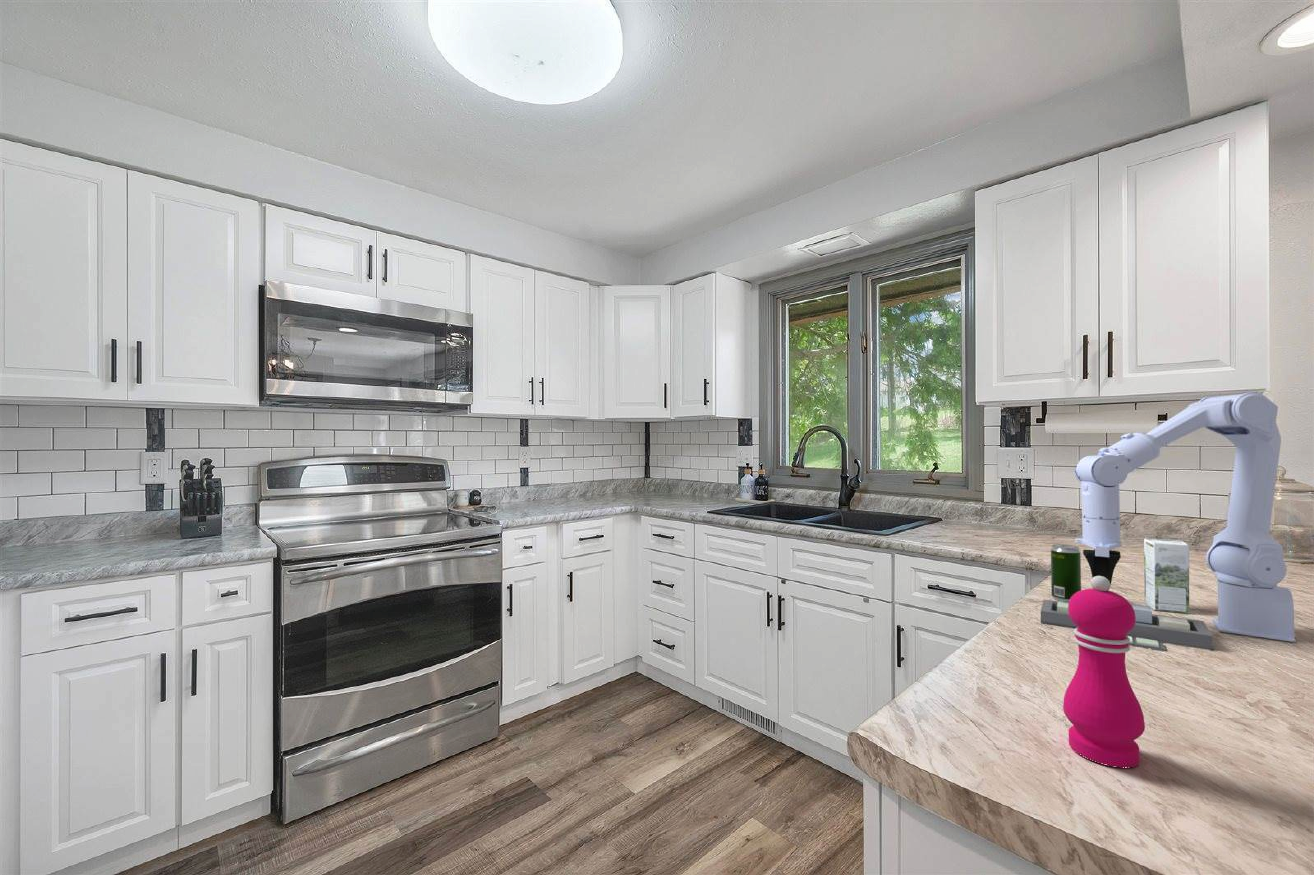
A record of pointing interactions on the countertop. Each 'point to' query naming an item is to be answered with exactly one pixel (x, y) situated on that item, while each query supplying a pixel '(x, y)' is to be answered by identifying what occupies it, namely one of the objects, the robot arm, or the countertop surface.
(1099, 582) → the pepper mill
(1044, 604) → the grey shallow tray
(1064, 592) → the beer can
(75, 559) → the countertop surface
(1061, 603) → the key sage
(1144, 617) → the key slate
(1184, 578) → the syrup box
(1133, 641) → the strip
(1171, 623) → the key cream
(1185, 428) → the robot arm
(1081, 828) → the countertop surface
